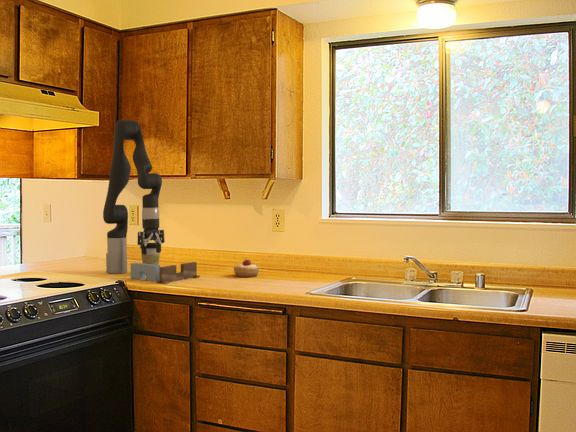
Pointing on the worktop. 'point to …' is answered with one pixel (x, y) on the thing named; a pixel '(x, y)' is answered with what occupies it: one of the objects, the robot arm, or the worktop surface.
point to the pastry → (246, 269)
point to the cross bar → (141, 268)
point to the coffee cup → (150, 255)
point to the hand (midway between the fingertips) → (151, 253)
